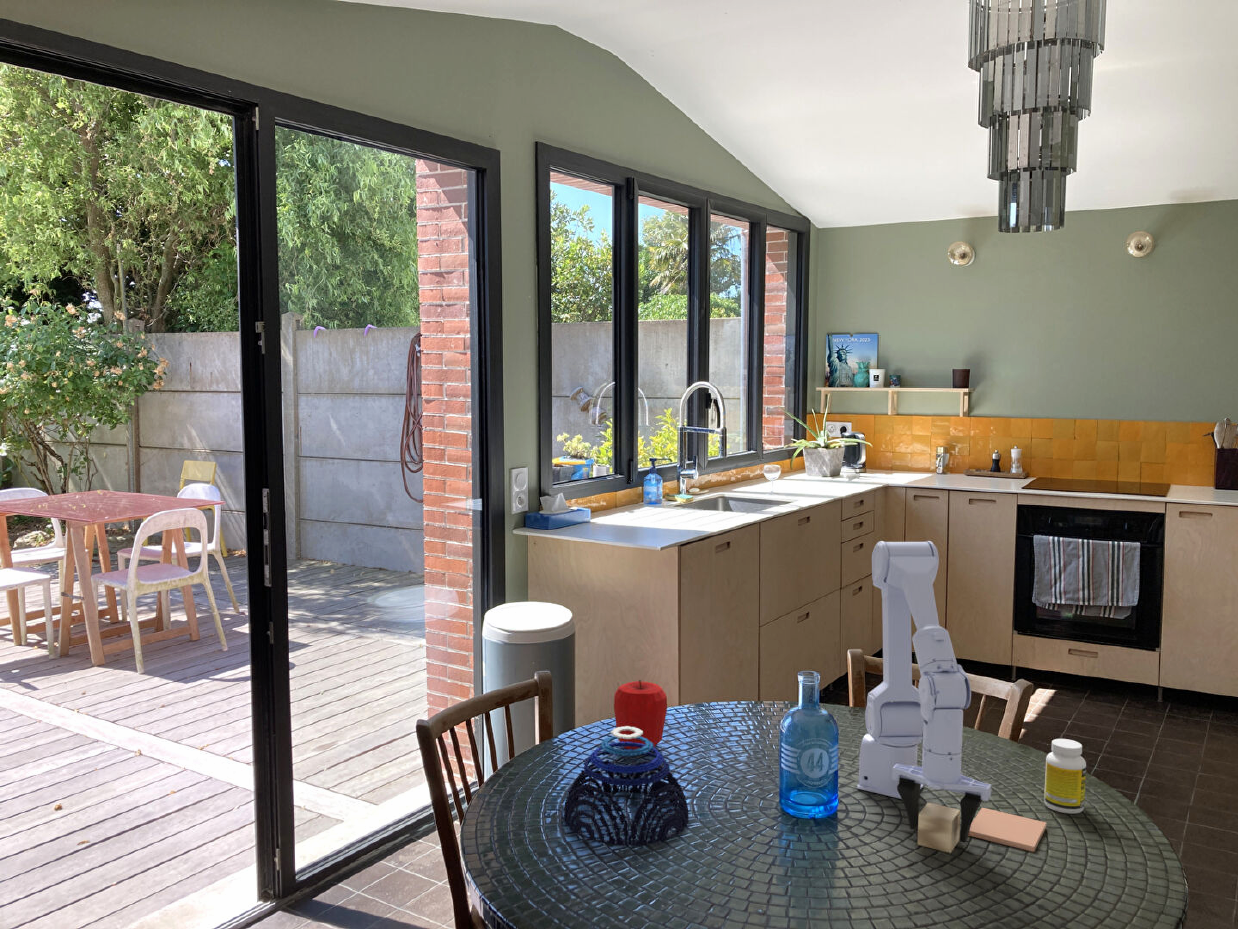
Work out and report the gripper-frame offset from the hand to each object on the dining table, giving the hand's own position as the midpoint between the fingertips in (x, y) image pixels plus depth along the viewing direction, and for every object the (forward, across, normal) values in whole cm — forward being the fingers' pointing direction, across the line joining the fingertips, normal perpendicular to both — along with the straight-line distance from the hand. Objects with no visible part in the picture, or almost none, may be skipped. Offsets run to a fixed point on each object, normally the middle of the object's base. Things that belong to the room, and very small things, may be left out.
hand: (938, 833), depth 154 cm
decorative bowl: (+2, -45, -20) cm, 49 cm away
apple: (+2, -59, +7) cm, 59 cm away
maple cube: (+2, 0, 0) cm, 2 cm away
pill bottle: (+2, +14, +25) cm, 29 cm away
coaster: (+1, +8, +10) cm, 13 cm away
